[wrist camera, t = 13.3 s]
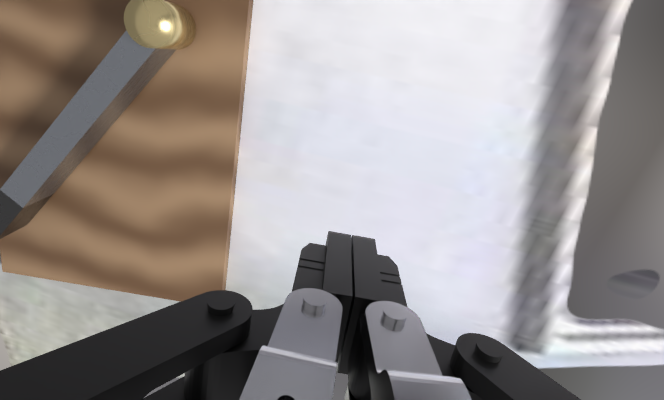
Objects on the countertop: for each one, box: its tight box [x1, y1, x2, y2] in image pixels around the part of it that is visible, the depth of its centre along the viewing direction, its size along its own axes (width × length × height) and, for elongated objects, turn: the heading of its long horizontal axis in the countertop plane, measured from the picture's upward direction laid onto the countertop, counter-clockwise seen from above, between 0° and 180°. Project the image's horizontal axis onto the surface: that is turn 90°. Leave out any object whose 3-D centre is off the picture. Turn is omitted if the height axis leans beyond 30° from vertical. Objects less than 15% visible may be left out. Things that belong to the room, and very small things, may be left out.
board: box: [0, 0, 253, 301], centre depth 39 cm, size 32×24×2 cm
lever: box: [0, 0, 196, 239], centre depth 35 cm, size 28×4×5 cm, turn 133°
